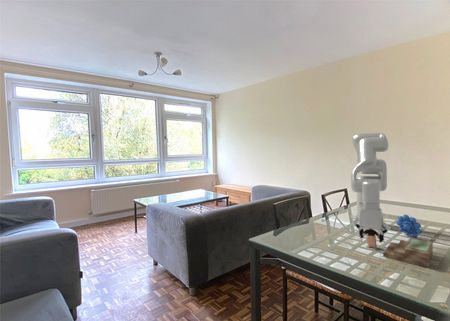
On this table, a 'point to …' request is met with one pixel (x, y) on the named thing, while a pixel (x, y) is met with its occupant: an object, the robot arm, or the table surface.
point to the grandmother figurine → (371, 238)
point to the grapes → (409, 225)
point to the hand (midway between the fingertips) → (371, 239)
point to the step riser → (411, 252)
